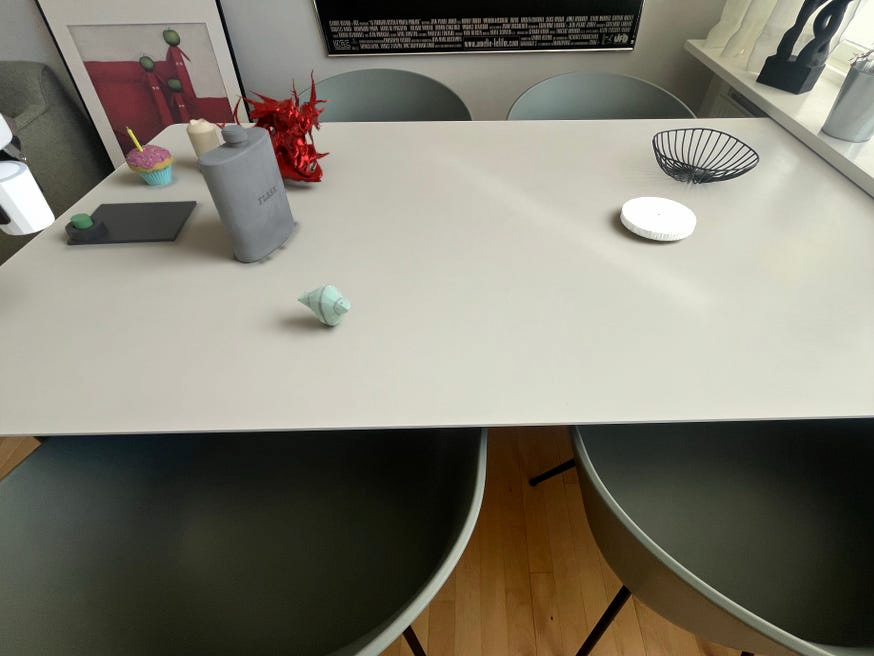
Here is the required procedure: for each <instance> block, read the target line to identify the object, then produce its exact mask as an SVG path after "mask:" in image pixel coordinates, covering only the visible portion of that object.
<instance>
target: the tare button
mask: <svg viewBox="0 0 874 656" xmlns="http://www.w3.org/2000/svg"><path fill="white" fill-rule="evenodd" d="M89 216H90V215H89V214H88V213H83V212H82V213H81V212H80V213H77V214H74V215H72V216H71V217H70V218H69V220H70V222H72V223H73V225H74V226H75V228H76V229H84V228H87V227H90V226H92V225H93V222H92V220H91V219H90V217H89Z"/></svg>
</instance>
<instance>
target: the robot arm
mask: <svg viewBox="0 0 874 656" xmlns="http://www.w3.org/2000/svg"><path fill="white" fill-rule="evenodd" d="M17 125H18V124H17V122H16V119H13V118H12V117H9V116H7V115H5V114H3V113H1V112H0V161H19V162H22V163H24V164H26V165H27V166H28V164H27V163H26V162H27V157H26V155H25V153H24V152H22V143H21V139H20V137H19V133H18V132H19V131H18V126H17ZM28 168H29V166H28ZM29 170H30V172H31V174H32V176H33V178H34V179H35V181H36V183H37V185H38V187H39V189H40V191H41V193H42V194H44V193H45V190H44V189H43V187H42V185H41V184H40V183H39V181H38V179H37V178H36V177H35V175H34V173H33V172H32V171H31V169H30V168H29ZM10 222H11V220H10V218H9V216H8V215H7V214H6V212H5V211H4V210H3V208H2V207H1V206H0V225H8V224H9V223H10Z"/></svg>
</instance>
